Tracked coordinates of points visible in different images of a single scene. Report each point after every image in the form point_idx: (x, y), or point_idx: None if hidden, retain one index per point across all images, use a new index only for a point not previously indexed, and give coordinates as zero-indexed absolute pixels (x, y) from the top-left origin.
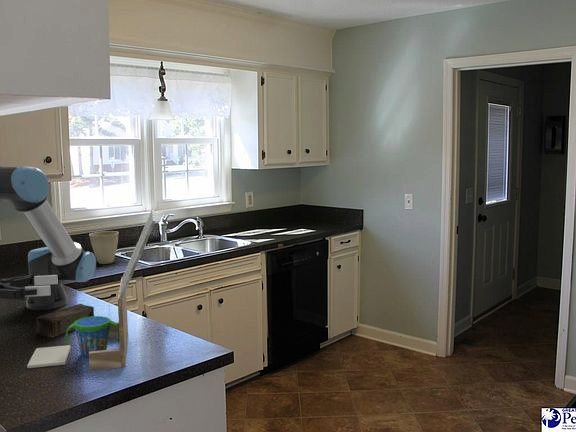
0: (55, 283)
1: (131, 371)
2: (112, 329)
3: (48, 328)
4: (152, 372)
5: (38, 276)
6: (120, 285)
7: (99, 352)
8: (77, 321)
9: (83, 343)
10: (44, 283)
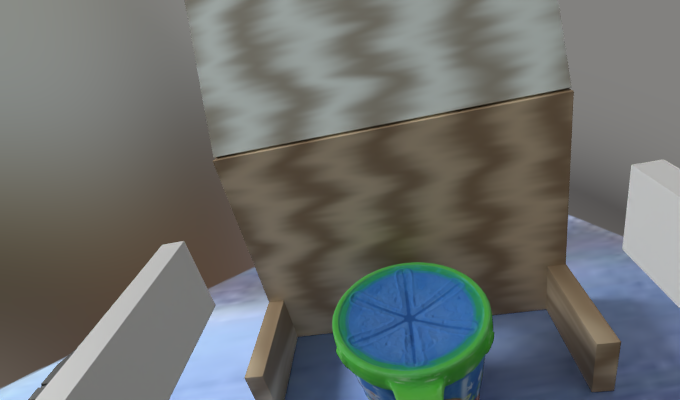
0: (208, 311)
1: (591, 281)
2: (282, 343)
3: None
4: (588, 244)
5: (71, 390)
6: (347, 134)
7: (598, 311)
8: (391, 367)
9: (476, 390)
10: (158, 394)
